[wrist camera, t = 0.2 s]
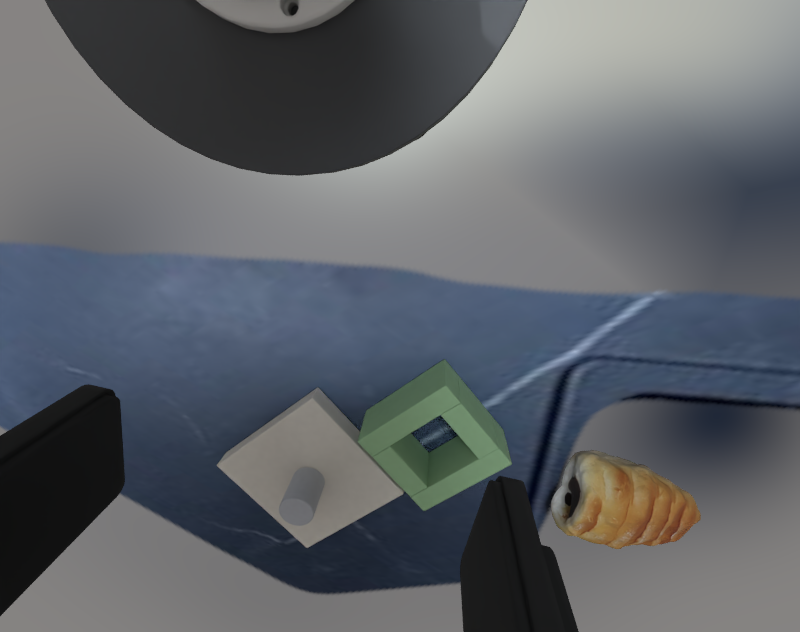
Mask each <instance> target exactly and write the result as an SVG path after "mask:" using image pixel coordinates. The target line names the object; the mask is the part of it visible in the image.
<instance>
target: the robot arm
mask: <svg viewBox="0 0 800 632" xmlns="http://www.w3.org/2000/svg"><path fill="white" fill-rule="evenodd" d="M196 1H197V2H199V3H200V4H201V5H202V6H204V7H205V8H207V9H208V10H210V11H212V12H213V13H215V14H216V15H218V16H219V17H221V18H222V19H225V20H227V21H229V22H232V23H234V24H236V25H239V26H241V27H243V28H246V29H250V30H256V31H261V32H266V33H289V32H297V31H300V30H304V29H307V28H311V27H315V26H318V25H319V24H321V23H323V22H325V21H327V20H329V19H330V18H332V17H334V16H336V15H338V14H339V13H341V12H342V11H343V10H344V9H345V8H346V7H348V6H349V5H350V4H351V3H352V2H353V1H355V0H196ZM294 6H298V7H299V9H298V11H297V13H296V14H295V15H293V16H292V15H291V9H292V7H294ZM124 482H125V475H124V458H123V442H122V425H121V409H120V400H119V398H118V397H116V396H115V393H114V391H113V390H111V389H107V388H102V387H98V386H93V385H84V386H81V387H79V388H78V389H76V390H74V391H73V392H71V393H70V394H68V395H66V396H65V397H63V398H61V399H60V400H58V401H56V402H55V403H53V404H52V405H50V406H48V407H47V408H45V409H43V410H42V411H40V412H38V413H37V414H35V415H34V416H32V417H30V418H29V419H27V420H25V421H24V422H22V423H20V424H19V425H17V426H16V427H14V428H12V429H11V430H9V431H7V432H6V433H4V434H2V435H1V436H0V616H1V615H2V614H3V613H4V612H5V611H6V610H7V609H8V608H9V607H10V606H11V605H12V603H13V602H14V601H15V600H16V599H17V598H18V597H19V596H20V595H21V594H22V593H23V592H24V591H25V590H26V589H27V588H28V587H29V586H30V585H31V584H32V583H33V582H34V581H35V580H36V579H37V578H38V577H39V576H40V575H41V574H42V573H43V572H44V571H45V570H46V569H47V568H48V567H49V566H50V565H51V564H52V562H54V561H55V559H56V558H57V557H58V556H59V555H60V554H61V553H62V552H63V551H64V550H65V549H66V548H67V547H68V546H69V545H70V544H71V543H72V542H73V541H74V540H75V539H76V538H77V537H78V536H79V535H80V534H81V533H82V532H83V531H84V530H85V529H86V528H87V527H88V526H89V525H90V524H91V523H92V522H93V520H95V518H96V517H97V516H98V515H99V514H100V513H101V512H102V511H103V510H104V509H105V508H106V507H107V506H108V505H109V504H110V503H111V502H112V501H113V500H114V499H115V498H116V497H117V496H118V495H119V493H120V492H121V490H122V488H123V486H124ZM460 579H461V595H462V612H463V631H464V632H578V629H577V625H576V622H575V619H574V616H573V613H572V609H571V606H570V603H569V599H568V596H567V593H566V589H565V586H564V583H563V580H562V576H561V573H560V570H559V566H558V563H557V560H556V557H555V555H554V552H553V550H552V549H551V548H550V547H547V546H543V545H541V542H540V539H539V535H538V531H537V528H536V524H535V521H534V517H533V513H532V510H531V506H530V503H529V499H528V495H527V492H526V488H525V485H524V482H523V481H521V480H516V479H512V478H507V477H503V476H499V477H498V478H497V480H496V481H492V480H490V481H489V483H488V485H487V488H486V490H485V493H484V496H483V499H482V502H481V505H480V507H479V510H478V513H477V516H476V519H475V521H474V524H473V527H472V530H471V533H470V536H469V538H468V541H467V544H466V547H465V550H464V552H463V555H462V559H461V566H460Z"/></svg>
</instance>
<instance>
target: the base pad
mask: <svg viewBox="0 0 800 632" xmlns="http://www.w3.org/2000/svg"><path fill="white" fill-rule="evenodd" d="M359 434H360V431H359V430H358V429H357V428H356V427H355V426H354V425H353V424H352V423H351V422H350V421H349V419H348V418H347V417H346V416H345V415H344V414H343V413H342V412H341V411H340V410H339V409H338V408H337V407H336V406H335V405H334V404H333V403H332V401H331V400H330V399H329V398H328V397H327V396H326V395H325V394H324V393H323V392H322V391H321V390H320V389H319V388H316V389H315V390H313V391H312V392H310V393H309V394H308V395H306V396H305V397H303V398H302V399H301V400H299V401H298V402H296V403H295V404H294V405H292V406H291V407H289V408H288V409H287V410H285V411H284V412H282V413H281V414H280V415H278V416H277V417H275V418H274V419H273V420H271V421H270V422H268V423H267V424H265V425H264V426H263V427H261V428H260V429H258V430H257V431H256V432H254V433H253V434H251V435H250V436H249V437H247V438H246V439H244V440H243V441H242V442H240V443H239V444H237V445H236V446H235V447H233V448H232V449H230V450H229V451H228V452H226V453H225V455H224V456H223V457H222V459H221V460H220V462H219V463H218V464H217V466H218V467H219V468H220V469H221V470H222V471H223V472H224V473H225V474H226V475H227V476H229V477H230V478H231V479H232V480H233V481H234V482H235V483H236V484H237V485H238V486H239V487H241V488H242V489H243V490H244V491H245V492H246V493H247V494H248V495H249V496H250V497H251V498H253V499H254V500H255V501H256V502H257V503H258V504H259V505H260V506H261V507H262V508H264V509H265V510H266V511H267V512H268V513H269V514H270V515H271V516H272V517H273V518H274V519H276V520H277V521H278V522H279V523H280V524H281V525H282V526H283V527H284V528H285V529H286V530H288V531H289V532H290V533H291V534H292V535H293V536H294V537H295V538H296V539H297V540H298V541H300V542H301V543H302V544H303V545H304V546H305V547H306V548H308V547H310V546H312V545H313V544H315V543H317V542H319V541H321V540H322V539H324V538H326V537H328V536H329V535H331V534H333V533H335V532H337V531H338V530H340V529H342V528H344V527H345V526H347V525H349V524H351V523H353V522H354V521H356V520H358V519H360V518H361V517H363V516H365V515H367V514H369V513H370V512H372V511H374V510H376V509H378V508H379V507H381V506H383V505H385V504H386V503H388V502H390V501H392V500H394V499H395V498H397V497H399V496H401V495H402V494H404V490H403V489H402V488H401V487H400V486H399V484H398V483H397V482H396V481H395V480H394V479H393V478H392V477H391V476H390V475H389V474H388V473H387V472H386V471H385V470H384V469H383V468H382V467H381V466H380V465H379V464H378V462H377V461H376V460H375V459H374V458H373V457H372V456H371V455H370V454H369V453H368V452H367V451H366V450H365V449H364V448H363V447H362V446H361V445H360V444H359V443H358V438H359Z"/></svg>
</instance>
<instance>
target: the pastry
mask: <svg viewBox="0 0 800 632" xmlns="http://www.w3.org/2000/svg"><path fill="white" fill-rule="evenodd" d="M551 511H552V515H553V518H554V520H555V522H556V524H557V526H558V528H560V529H561V530H562V531H563V532H564V533H566V534H567V535H569V536H577V537H579V538H581V539H584V540H586V541H589V542H592V543H597V544H605V545H607V546H609V547H612V548H615V549H621V548H622V547H624V546H629V545H639V544H644V545H648V546H655V545H658V544H664V543H668V542H674V541H677V540H679V539H680V538H681V537H682V536H683V535H684V534H685V533H686V532H687V531H688V530H689V529H690V528H691V527H692V526H693V524H695V523H697V522H698V521H699V520H700V516H701V515H700V512H699V510H698V508H697V505H696V503H695V501H694V499H693V497H692V495H690V494H689V493H688V492H686V491H684V490H682V489H681V488H679V487H678V486H676V485H674V484H673V483H672V482H671V481H670V480H668V479H666V478H664V477H661V476H659V475H657V474H656V473H654V472H653V471H652V470H650V469H649V468H648V467H647V466H645V465H641V464H639V465H637V464H635V463H633V462H631V461H628V460H625V459H622V458H619V457H614V456H610V455H608V454H606V453H603V452H599V451H594V450H592V451H580V452H577V453H575V454H574V455H573V456H572V457H571V459H570V461H569V463H568V465H567V466H566V468H565V470H564V475H563V477H562V484H561V487H560V488H559V489H558V490H557V491H556V493H555V494H554V496H553V499H552V501H551Z"/></svg>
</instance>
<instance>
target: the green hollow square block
mask: <svg viewBox="0 0 800 632" xmlns="http://www.w3.org/2000/svg"><path fill="white" fill-rule="evenodd" d="M440 415H441V416H442V417H443V418H444V420H445V421H446V422H447V423H448V424H449V425H450V426H451V428H452V429H453V430H454V431H455V432H456V433H457V435H458V436H456V437H455V438H453V439H451V440H450V441H448V442H446V443H444V444H443V445H441V446H439V447H438V448H436V449H434V450H433V451H431V452H429V453H428V451H427V450H426V449H425V448H424V447H423V446H422V445H421V444H420V442H419V441H418V440H417V439H416V438H415V437H414V436H413V435H412V434H411V433H412V432H413V431H415V430H417V429H418V428H420V427H422V426H423V425H425V424H426V423H428V422H430V421H431V420H433V419H435V418H436V417H438V416H440ZM358 443H359V444H360V445H361V446H362V447H363V448H364V449H365V450H366V451H367V452H368V453H369V454H370V455H371V456H372V457H373V458H374V459H375V460H376V461H377V462H378V464H379V465H380V466H381V467H382V468H383V469H384V470H385V471H386V472H387V473H388V474H389V475H390V476H391V477H392V478H393V479H394V480H395V481H396V482H397V483H398V484H399V486H400V487H401V488H402V489H403V490H404V491H405V492H406V493H407V494H408V495H409V496H411V498H412V499H413V500H414V501H415V502H416V504H417V505H418V506H419V507H420V508H421V509H422V510H423V511H425V510H427V509H429V508H431V507H433V506H435V505H437V504H439V503H440V502H442V501H444V500H446V499H448V498H450V497H452V496H453V495H455V494H457V493H459V492H461V491H463V490H465V489H467V488H468V487H470V486H472V485H474V484H476V483H478V482H480V481H481V480H483V479H485V478H487V477H489V476H491V475H493V474H495V473H496V472H498V471H500V470H502V469H504V468H506V467H508V466H509V465H511V464H512V462H511V458H510V454H509V450H508V447H507V443H506V439H505V435H504V431H503V429H502V428H501V427H500V425H499V424H498V423H497V422H496V421H495V419H494V418H493V417H492V416H491V414H490V413H489V412H488V411H487V410H486V408H485V407H484V406H483V405H482V404H481V402H480V401H479V400H478V399H477V397H476V396H475V395H474V394H473V393H472V391H471V390H470V389H469V388H468V387H467V385H466V384H465V383H464V382H463V381H462V379H461V378H460V377H459V376H458V375H457V373H456V372H455V371H454V370H453V369H452V367H451V366H450V365H449V364H448V362H447V361H446V360H445V359H444V360H442V361H441V362H439V363H438V364H436V365H435V366H433V367H432V368H430V369H429V370H427V371H426V372H424V373H423V374H421V375H420V376H418V377H416V378H415V379H413V380H412V381H410V382H409V383H407V384H406V385H404V386H403V387H401V388H400V389H398V390H397V391H395V392H394V393H392V394H391V395H389V396H388V397H386V398H385V399H383V400H382V401H380V402H379V403H377V404H375V405H374V406H372V407H371V408H369V409H368V410H366V413H365V416H364V420H363V424H362V427H361V431H360V434H359V438H358Z"/></svg>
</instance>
